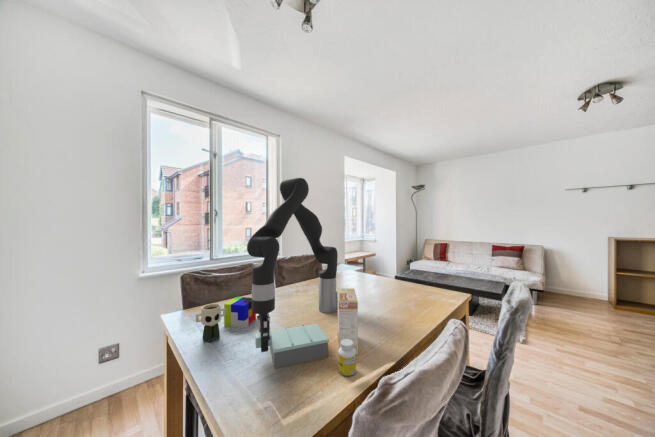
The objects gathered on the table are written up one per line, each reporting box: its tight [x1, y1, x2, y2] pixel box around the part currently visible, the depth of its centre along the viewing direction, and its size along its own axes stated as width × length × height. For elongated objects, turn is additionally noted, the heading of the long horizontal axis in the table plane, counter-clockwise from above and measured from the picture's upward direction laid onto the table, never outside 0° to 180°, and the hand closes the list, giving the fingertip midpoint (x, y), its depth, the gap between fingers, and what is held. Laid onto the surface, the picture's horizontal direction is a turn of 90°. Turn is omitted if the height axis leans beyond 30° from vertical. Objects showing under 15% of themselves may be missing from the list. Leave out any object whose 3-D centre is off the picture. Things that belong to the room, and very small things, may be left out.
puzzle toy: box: [223, 296, 257, 329], centre depth 109 cm, size 10×10×10 cm
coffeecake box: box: [337, 287, 359, 355], centre depth 89 cm, size 15×7×20 cm, turn 178°
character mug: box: [195, 303, 226, 343], centre depth 94 cm, size 11×7×13 cm, turn 127°
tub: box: [269, 342, 329, 370], centre depth 83 cm, size 18×12×6 cm, turn 110°
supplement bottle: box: [338, 339, 357, 378], centre depth 73 cm, size 5×5×10 cm
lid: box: [254, 323, 330, 353], centre depth 82 cm, size 24×13×3 cm, turn 110°
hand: (263, 344), depth 78 cm, fingers open, 8 cm apart
